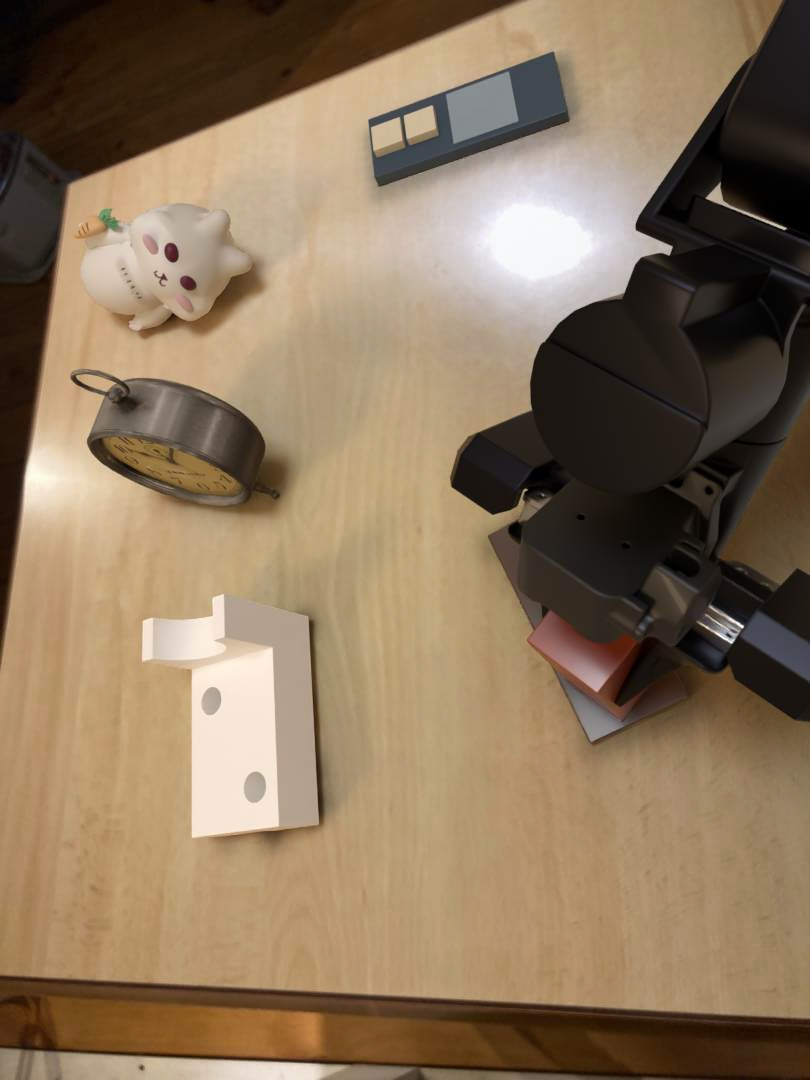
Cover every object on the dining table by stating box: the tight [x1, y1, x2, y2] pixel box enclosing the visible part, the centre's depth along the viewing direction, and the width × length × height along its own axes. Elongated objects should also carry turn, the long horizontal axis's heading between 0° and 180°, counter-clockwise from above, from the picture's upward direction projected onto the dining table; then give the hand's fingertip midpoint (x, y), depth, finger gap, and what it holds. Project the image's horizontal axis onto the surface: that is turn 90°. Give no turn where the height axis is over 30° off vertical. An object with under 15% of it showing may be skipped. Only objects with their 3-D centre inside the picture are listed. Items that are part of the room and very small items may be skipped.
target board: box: [367, 51, 570, 187], centre depth 64 cm, size 15×6×2 cm, turn 96°
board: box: [487, 518, 691, 746], centre depth 49 cm, size 6×14×2 cm, turn 23°
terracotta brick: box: [526, 610, 655, 721], centre depth 42 cm, size 4×4×11 cm
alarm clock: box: [69, 368, 281, 508], centre depth 54 cm, size 11×5×16 cm, turn 76°
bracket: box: [141, 593, 320, 839], centre depth 51 cm, size 13×7×8 cm, turn 5°
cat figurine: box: [73, 202, 253, 331], centre depth 65 cm, size 10×8×15 cm
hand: (585, 674), depth 42 cm, fingers closed on terracotta brick, 4 cm apart
